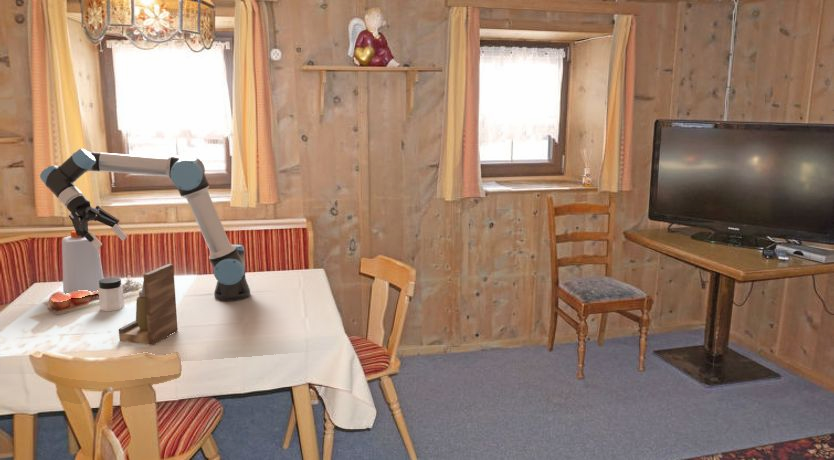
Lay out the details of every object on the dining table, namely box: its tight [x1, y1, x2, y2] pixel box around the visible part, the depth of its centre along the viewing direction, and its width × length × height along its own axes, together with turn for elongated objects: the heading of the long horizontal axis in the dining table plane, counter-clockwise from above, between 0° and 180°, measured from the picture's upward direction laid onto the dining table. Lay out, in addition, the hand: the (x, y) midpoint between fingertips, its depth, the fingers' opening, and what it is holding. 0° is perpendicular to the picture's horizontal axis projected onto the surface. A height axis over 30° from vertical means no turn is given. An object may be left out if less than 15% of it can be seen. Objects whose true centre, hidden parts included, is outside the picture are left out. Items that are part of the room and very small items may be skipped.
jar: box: [98, 276, 125, 312], centre depth 251 cm, size 9×8×12 cm
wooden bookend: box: [118, 263, 179, 346], centre depth 222 cm, size 14×14×26 cm
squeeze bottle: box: [135, 280, 148, 331], centre depth 222 cm, size 8×8×18 cm
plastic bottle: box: [61, 229, 105, 294], centre depth 268 cm, size 15×15×28 cm
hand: (112, 242), depth 232 cm, fingers open, 13 cm apart
